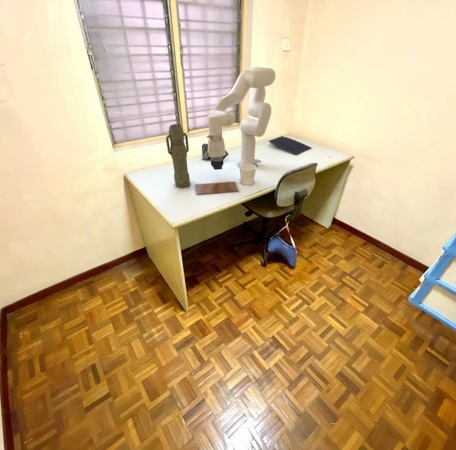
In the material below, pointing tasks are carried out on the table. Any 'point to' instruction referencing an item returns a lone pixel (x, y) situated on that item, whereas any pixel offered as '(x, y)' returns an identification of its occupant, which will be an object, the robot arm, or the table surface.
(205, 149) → the small box
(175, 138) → the thermos
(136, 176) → the table surface
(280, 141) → the black flat slab
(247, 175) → the cup
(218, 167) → the block
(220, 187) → the mat
